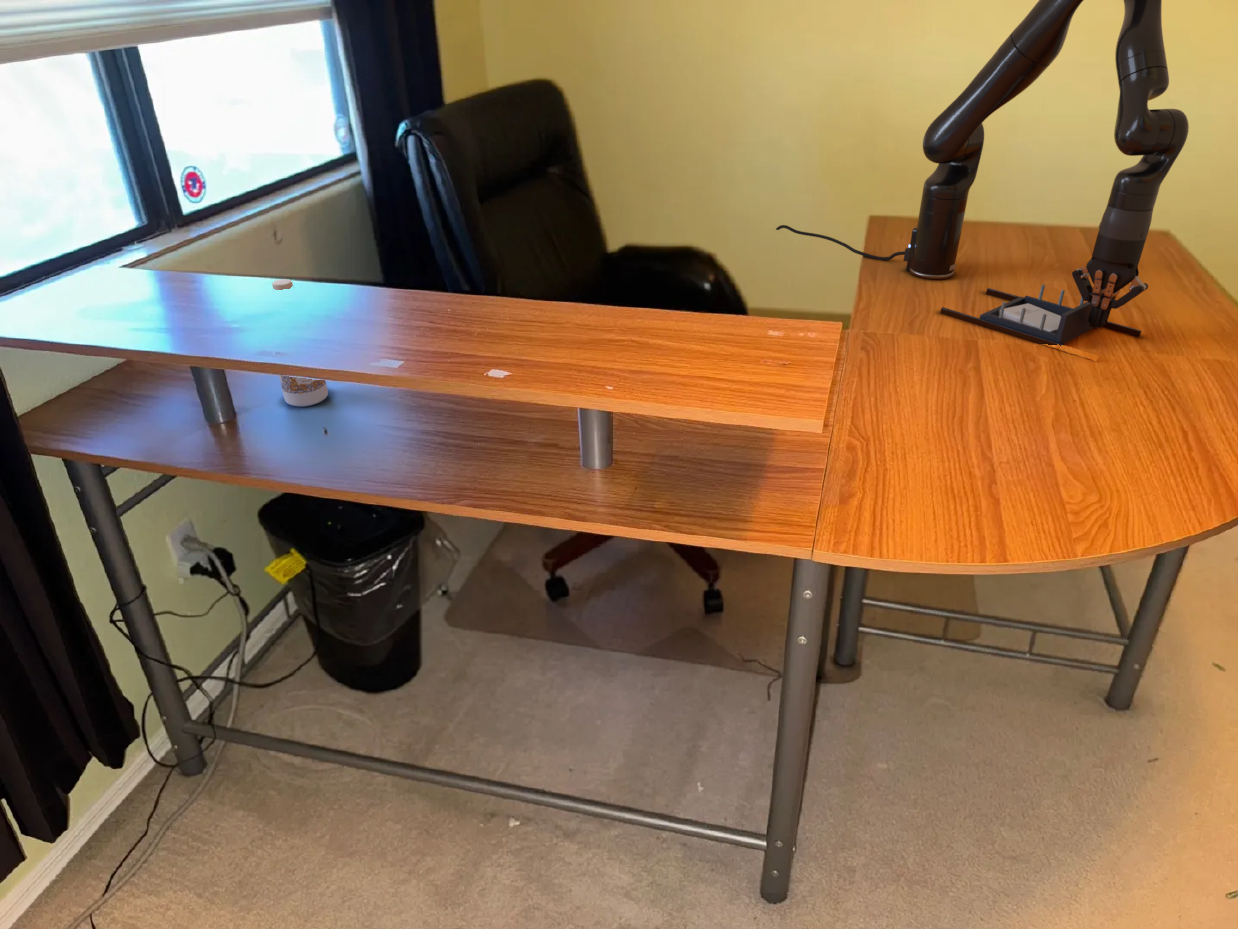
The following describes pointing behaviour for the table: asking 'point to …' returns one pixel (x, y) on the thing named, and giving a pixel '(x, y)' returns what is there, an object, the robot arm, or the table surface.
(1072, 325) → the rack
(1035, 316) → the hard drive
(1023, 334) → the rack rails
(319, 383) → the patterned jar
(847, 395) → the table surface
